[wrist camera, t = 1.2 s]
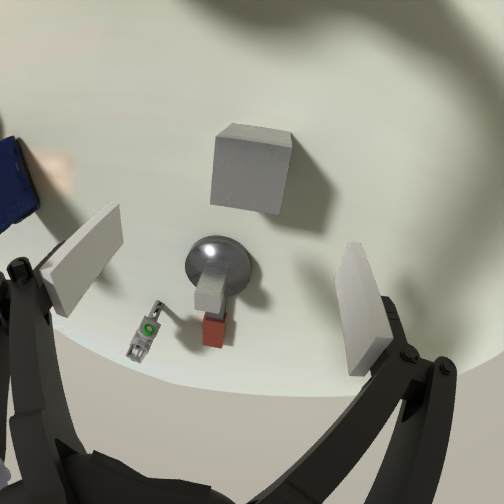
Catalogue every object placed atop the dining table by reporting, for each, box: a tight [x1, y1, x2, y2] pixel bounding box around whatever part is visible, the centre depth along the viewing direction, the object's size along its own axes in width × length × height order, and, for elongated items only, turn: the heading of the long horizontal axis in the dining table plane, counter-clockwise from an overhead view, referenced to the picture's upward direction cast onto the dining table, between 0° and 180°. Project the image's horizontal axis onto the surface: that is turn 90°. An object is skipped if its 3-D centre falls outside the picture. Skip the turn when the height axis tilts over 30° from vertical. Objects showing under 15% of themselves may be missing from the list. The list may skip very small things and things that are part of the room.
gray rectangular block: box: [210, 123, 293, 215], centre depth 27 cm, size 6×6×8 cm
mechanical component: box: [126, 300, 164, 363], centre depth 42 cm, size 3×10×10 cm, turn 148°
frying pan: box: [185, 236, 252, 348], centre depth 40 cm, size 22×9×8 cm, turn 172°
